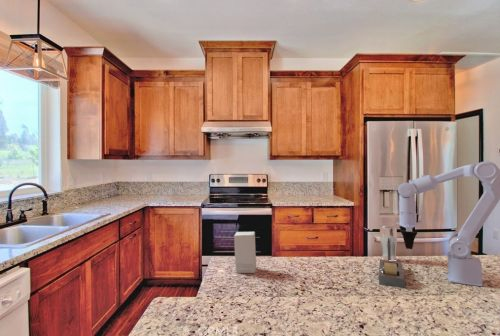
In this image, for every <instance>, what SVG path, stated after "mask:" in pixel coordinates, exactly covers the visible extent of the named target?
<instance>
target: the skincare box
mask: <svg viewBox="0 0 500 336" xmlns="http://www.w3.org/2000/svg"><path fill="white" fill-rule="evenodd" d="M233 238H234V264H235V274H256V271H257V255H256V253H257V252H256V232H255V231H236V232H235V234H234V235H233Z"/></svg>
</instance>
